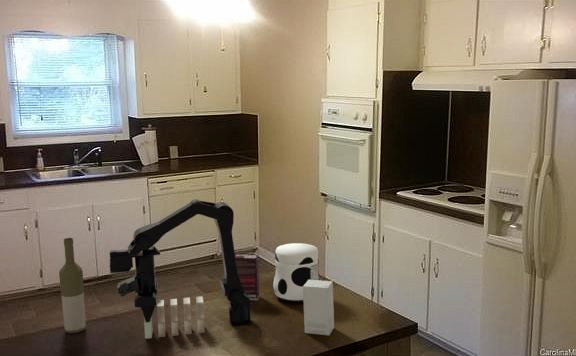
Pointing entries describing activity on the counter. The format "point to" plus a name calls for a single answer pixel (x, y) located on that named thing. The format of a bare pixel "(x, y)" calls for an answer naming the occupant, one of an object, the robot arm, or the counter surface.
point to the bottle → (72, 291)
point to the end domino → (200, 314)
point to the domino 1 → (148, 328)
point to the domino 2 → (161, 318)
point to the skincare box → (318, 307)
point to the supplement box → (248, 274)
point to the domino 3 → (174, 317)
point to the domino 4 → (187, 315)
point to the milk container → (294, 270)
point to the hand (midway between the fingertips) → (148, 317)
